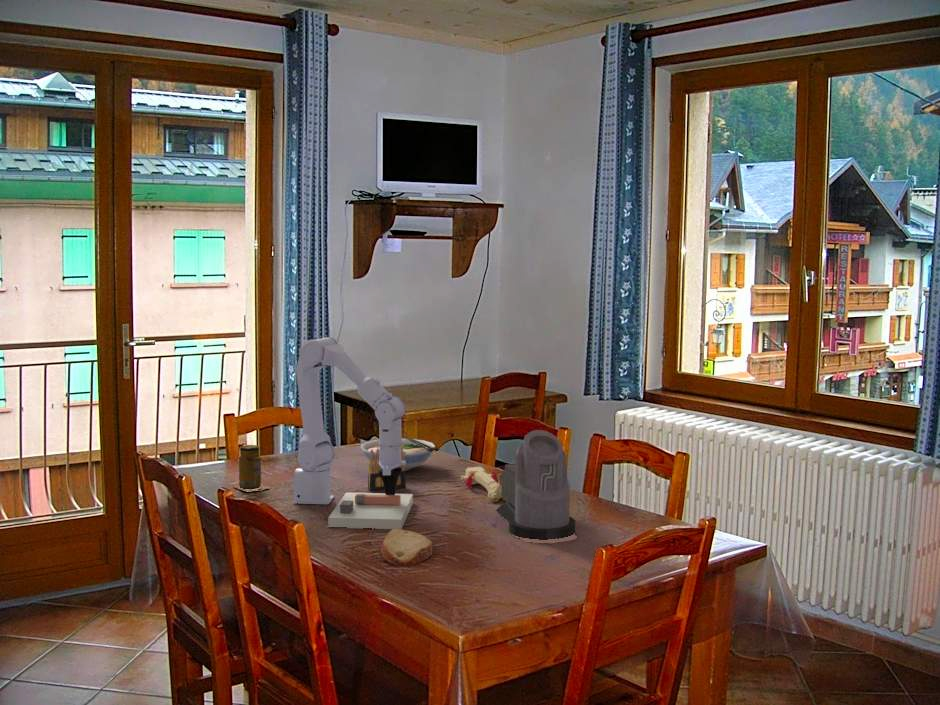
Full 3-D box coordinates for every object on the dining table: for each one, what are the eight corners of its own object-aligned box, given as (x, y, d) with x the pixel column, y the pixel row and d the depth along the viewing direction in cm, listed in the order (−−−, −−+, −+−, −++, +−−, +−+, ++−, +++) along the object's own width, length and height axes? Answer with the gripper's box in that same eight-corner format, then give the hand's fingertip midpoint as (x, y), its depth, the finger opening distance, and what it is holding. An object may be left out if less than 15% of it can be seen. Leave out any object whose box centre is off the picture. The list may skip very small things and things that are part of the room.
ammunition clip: (369, 492, 280) (369, 449, 279) (367, 490, 282) (367, 448, 281) (405, 488, 285) (405, 446, 283) (403, 486, 286) (403, 445, 285)
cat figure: (518, 506, 273) (486, 477, 296) (519, 475, 271) (487, 448, 294) (483, 509, 269) (454, 479, 293) (484, 478, 268) (455, 451, 291)
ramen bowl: (349, 464, 314) (349, 438, 313) (417, 457, 323) (417, 432, 322) (376, 482, 291) (376, 454, 290) (448, 475, 301) (448, 448, 300)
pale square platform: (328, 527, 246) (328, 508, 246) (346, 501, 270) (346, 484, 269) (401, 529, 245) (401, 510, 245) (412, 503, 269) (412, 486, 268)
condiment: (255, 484, 288) (255, 443, 287) (270, 490, 282) (269, 448, 280) (232, 487, 284) (231, 446, 282) (246, 494, 277) (245, 451, 276)
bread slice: (401, 535, 242) (401, 520, 241) (458, 551, 230) (458, 535, 230) (346, 553, 228) (346, 536, 228) (403, 570, 217) (403, 553, 216)
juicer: (586, 541, 237) (589, 439, 234) (522, 546, 233) (523, 442, 230) (545, 507, 266) (547, 416, 263) (487, 511, 262) (488, 419, 259)
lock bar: (354, 504, 257) (354, 496, 257) (356, 501, 260) (356, 493, 260) (399, 505, 256) (399, 497, 256) (400, 502, 259) (400, 494, 259)
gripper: (402, 451, 252) (402, 503, 254) (408, 439, 267) (408, 489, 268) (374, 450, 253) (374, 503, 254) (382, 438, 267) (382, 488, 269)
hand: (390, 496), depth 261 cm, fingers closed
